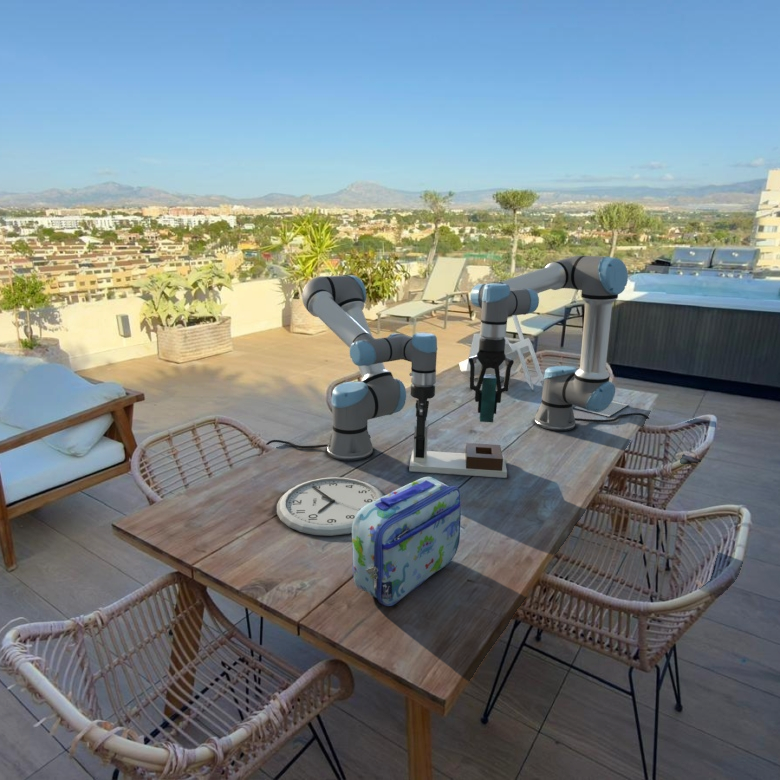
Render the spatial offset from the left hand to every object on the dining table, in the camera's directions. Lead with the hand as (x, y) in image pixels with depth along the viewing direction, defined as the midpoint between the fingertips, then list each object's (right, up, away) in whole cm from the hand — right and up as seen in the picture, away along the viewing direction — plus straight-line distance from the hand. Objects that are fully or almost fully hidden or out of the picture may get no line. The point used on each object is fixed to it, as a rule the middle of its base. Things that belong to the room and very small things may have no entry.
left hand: (420, 452), depth 168 cm
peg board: (+12, -4, 0) cm, 13 cm away
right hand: (+20, +13, -7) cm, 25 cm away
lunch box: (-6, -21, -54) cm, 58 cm away
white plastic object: (+43, +23, +90) cm, 102 cm away
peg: (+20, +11, -6) cm, 24 cm away
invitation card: (+82, +13, +58) cm, 101 cm away
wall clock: (-26, -11, -25) cm, 37 cm away
